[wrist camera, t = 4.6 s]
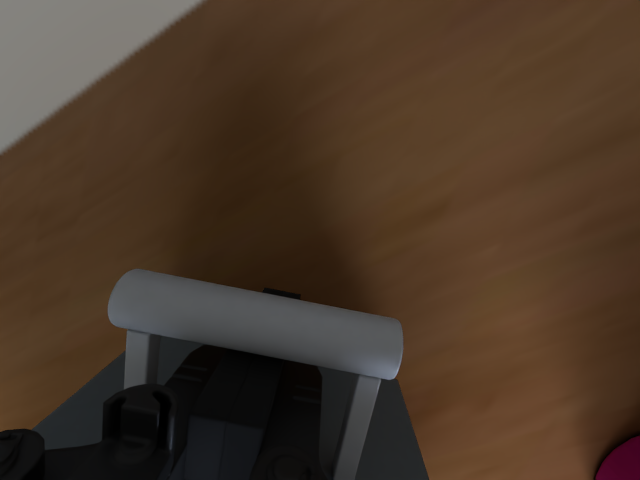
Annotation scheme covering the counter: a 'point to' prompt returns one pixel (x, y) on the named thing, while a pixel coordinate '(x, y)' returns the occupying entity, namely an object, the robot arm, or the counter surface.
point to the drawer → (264, 339)
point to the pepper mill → (622, 462)
